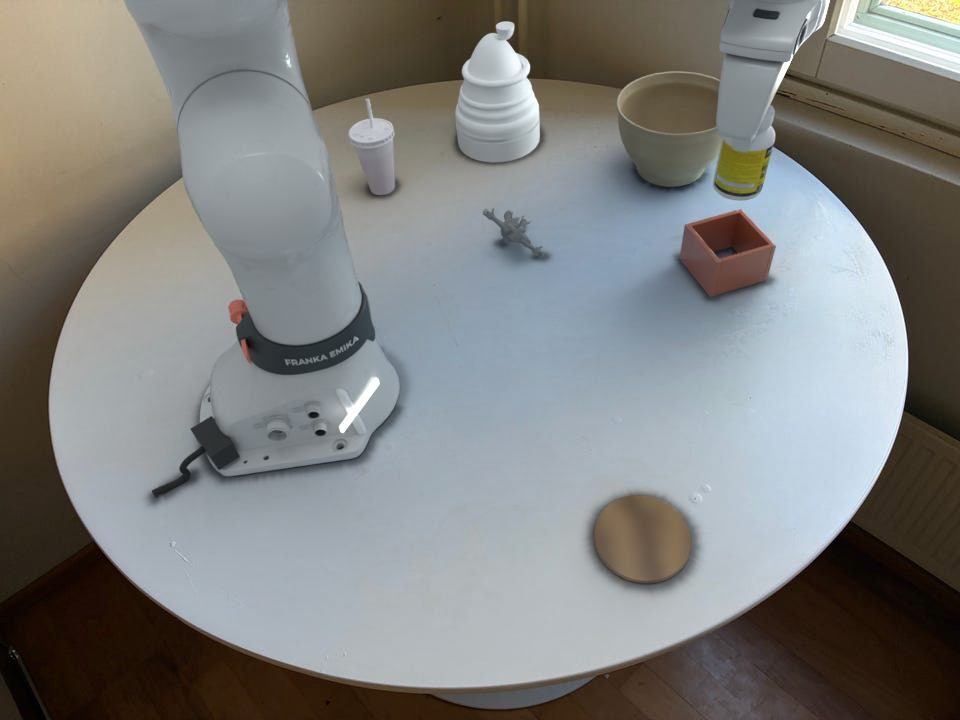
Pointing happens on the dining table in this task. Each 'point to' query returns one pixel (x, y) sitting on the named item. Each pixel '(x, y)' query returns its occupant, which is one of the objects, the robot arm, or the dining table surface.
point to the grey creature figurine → (514, 230)
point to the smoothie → (375, 151)
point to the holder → (721, 235)
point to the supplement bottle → (745, 164)
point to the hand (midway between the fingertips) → (749, 132)
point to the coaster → (642, 539)
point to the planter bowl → (670, 125)
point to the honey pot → (497, 102)
